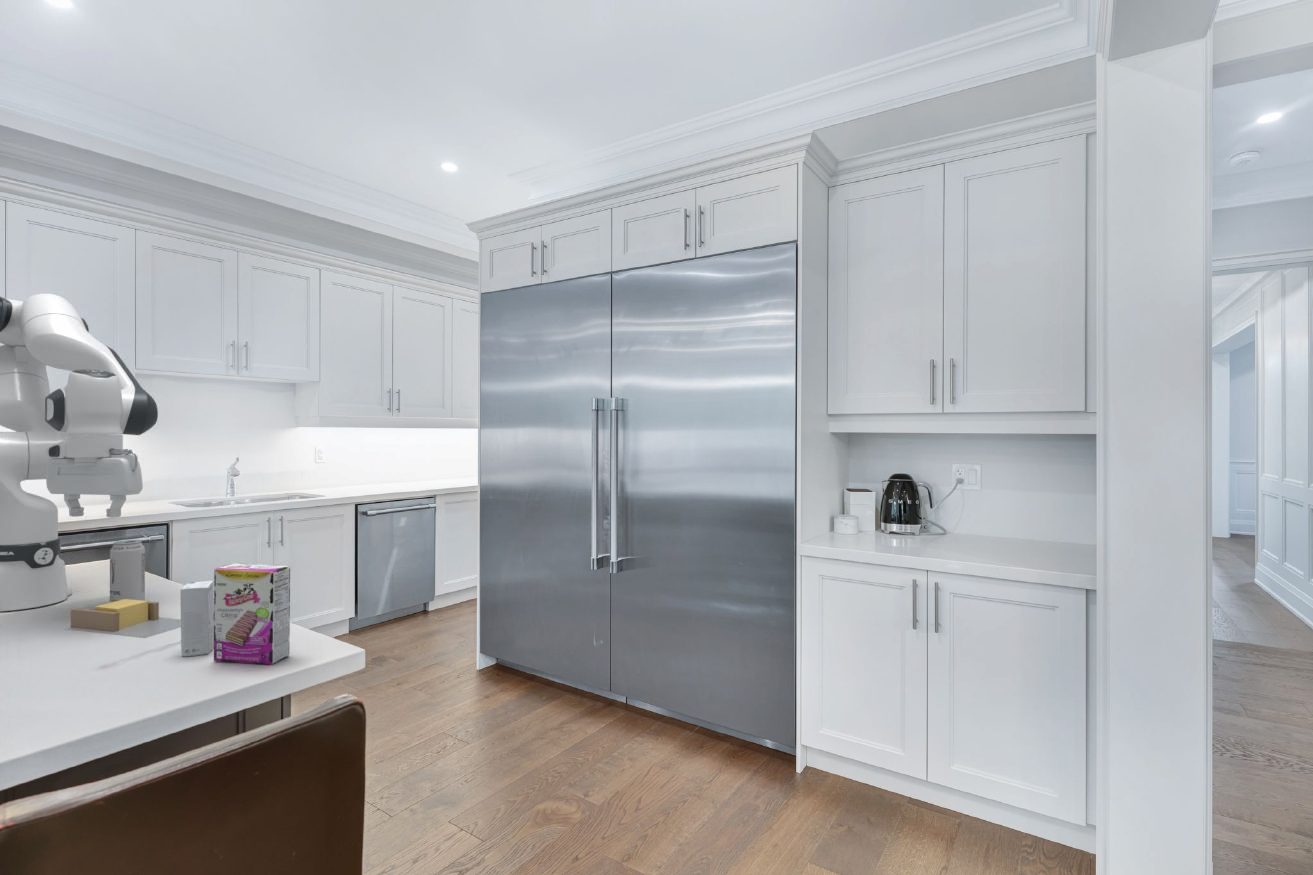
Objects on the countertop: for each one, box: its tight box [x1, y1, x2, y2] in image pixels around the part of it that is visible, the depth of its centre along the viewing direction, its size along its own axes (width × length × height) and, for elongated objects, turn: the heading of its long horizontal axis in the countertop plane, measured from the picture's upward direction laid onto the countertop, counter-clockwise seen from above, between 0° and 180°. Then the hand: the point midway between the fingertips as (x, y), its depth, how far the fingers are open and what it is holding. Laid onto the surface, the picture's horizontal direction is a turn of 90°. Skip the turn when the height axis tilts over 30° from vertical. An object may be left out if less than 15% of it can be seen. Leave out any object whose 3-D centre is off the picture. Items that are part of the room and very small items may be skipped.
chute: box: [65, 598, 181, 639], centre depth 130 cm, size 20×11×4 cm, turn 76°
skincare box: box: [180, 580, 214, 657], centre depth 118 cm, size 6×4×12 cm
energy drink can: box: [109, 539, 146, 603], centre depth 144 cm, size 6×6×15 cm
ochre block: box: [93, 599, 148, 629], centre depth 130 cm, size 6×6×4 cm
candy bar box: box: [213, 562, 291, 665], centre depth 114 cm, size 11×5×16 cm, turn 84°
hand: (95, 516), depth 133 cm, fingers open, 8 cm apart
